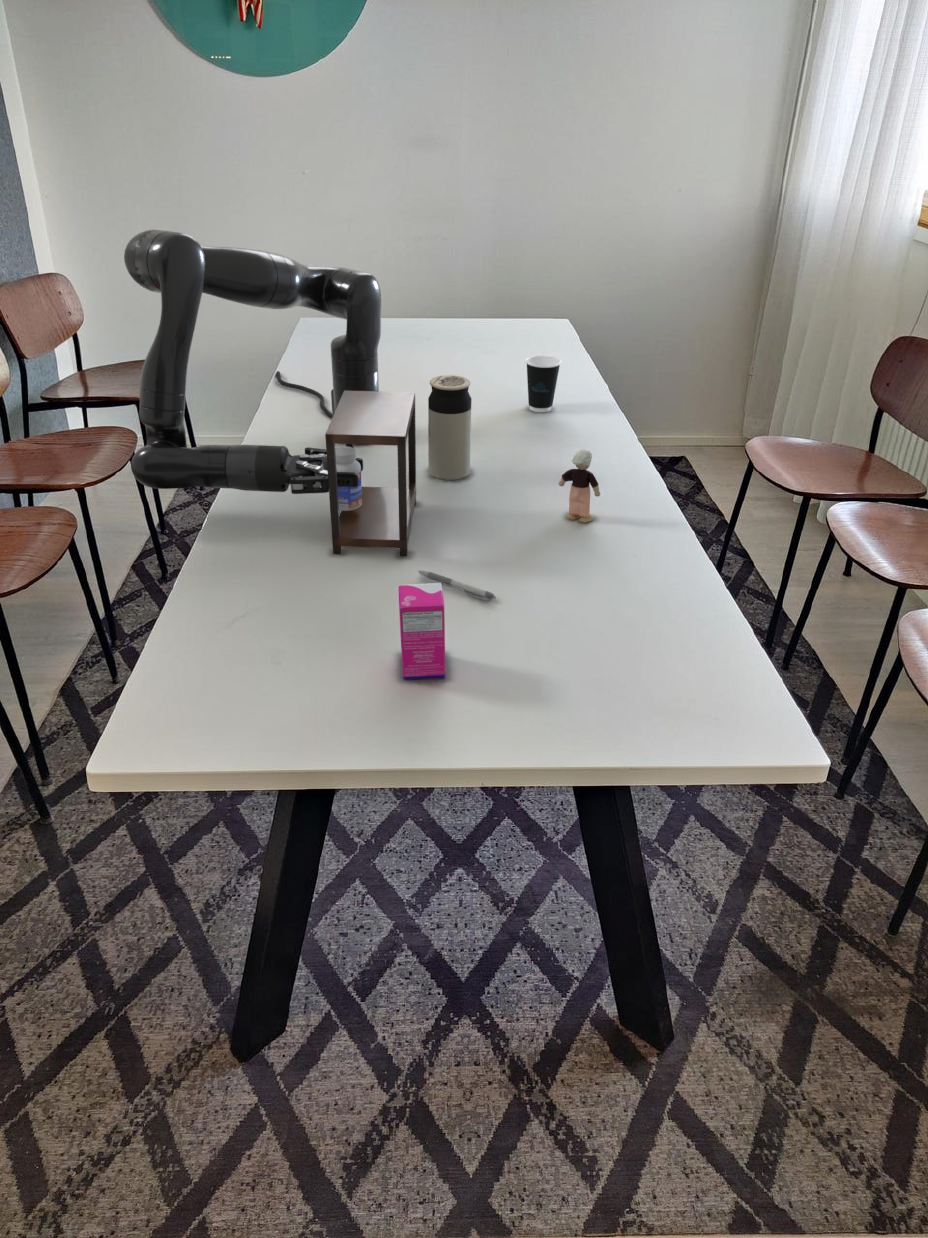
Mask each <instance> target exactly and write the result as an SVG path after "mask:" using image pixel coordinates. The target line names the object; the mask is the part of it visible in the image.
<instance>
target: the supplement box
mask: <svg viewBox="0 0 928 1238" xmlns="http://www.w3.org/2000/svg"><path fill="white" fill-rule="evenodd" d="M442 585H443V583H441V582H431V583H409V584H407V583H406V584H398V611H399V612H398V613H399V615H398V616H399V633H400V634H399V635H400V651H401V665H402V679H403V680H404V681H405V680H427V679H428V680H429V679H430V680H433V679H446V676H447V675H446V674H447V673H446V671H447V670H446V629H445V626H446V624H445V623H446V620H445V599H444V592H443V586H442Z"/></svg>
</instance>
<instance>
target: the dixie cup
mask: <svg viewBox="0 0 928 1238" xmlns="http://www.w3.org/2000/svg"><path fill="white" fill-rule="evenodd" d="M524 362H525V364H526V378H527V379H526V380H527V397H528V398H527V399H528V401H527V402H528V405H529V410H530V411H532V412H534V413H548V412H550V411H552V406H553V405H554V399H555V393H556V389H557V382H558V376H559V372H560V366H561V365H562V360H561V359H559V358H558V357H555V356H550V355H533V356H529V357H527V358H526V359H525V361H524Z"/></svg>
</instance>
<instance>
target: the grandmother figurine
mask: <svg viewBox="0 0 928 1238" xmlns="http://www.w3.org/2000/svg"><path fill="white" fill-rule="evenodd" d="M592 459H593V454H592V452H591V450H589V449H586V448H582V449H580V450H577V451H576V453H574V455H573V457H572V460H571V462H572V464H573V465H575V467H576V468H570V469H568V470H566V471H565V472H564V473H563V474H562V475H561V478H560V480H559V481H558V486H560V487H564V486H565V483H566V482H571V485H570V490H569V496H568V515H567V520H570V521H575V520H578V521H579V522H580V523H583V524H584V523H585V524H586V523H589V522H591V521H593V520H594V517H593V515H592V514H591V510H590V509H591V488H592V491H593V492H594V493H593V495H594V496H595V497H598V498H599V497H600V496H601V491H600V487H599V482H598V481H597V478H596V476H595V475H594V473H593V472H591V471H589V470H588V469H589V467H590V466H591V463H592ZM590 486H591V487H590Z"/></svg>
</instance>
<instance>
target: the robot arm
mask: <svg viewBox="0 0 928 1238" xmlns="http://www.w3.org/2000/svg"><path fill="white" fill-rule="evenodd" d="M123 253H124V255H123V260H124V266H125V268H126V271H127V272H128V274H129V275H130V277H131V278H132V280H133V281H134V282H136V283H137V284H138V285H139V286H140V287H142V288H143V289H145V290H148V291H150V292H153V293H158V294H160V299H161V300H160V301H161V310H160V319H159V324H158V328H157V331H156V334H155V337H154V339H153V341H152V344H151V346H150V348H149V350H148V352H147V355H146V356H145V359H144V361H143V365H142V369H141V374H140V381H139V402H138V403H139V407H138V412H139V419H140V422H141V423H142V424H143V425H144V426H145V432H146V433H145V434H146V435H145V436H146V445H144V446H143V447H142V446H141V448H139V449H137V451H136V452H135V453H134V454H133V456H132V459H131V462H130V469H131V472H132V475H133V476H134V478H135V480H137V482H139V484H141V485H143V486H145V487H147V488H150V489H157V490H171V489H172V490H173V489H187V488H197V487H198V488H201V487H202V488H203V487H204V488H211V489H233V490H239V491H245V492H246V491H247V492H268V493H273V492H274V493H285V492H286V491H288V490H289V487H290V493H291V494H292V495H308V494H327V493H329V483H328V468H327V453H326V448H319V447H318V448H317V447H309V446H307V447H305V448H304V453H301V454H297V455H296V454H295V455H292V454H290V451H289V449H288V447H286V446H285V445H266V444H265V445H263V444H238V445H226V444H225V445H221V444H220V445H219V444H204V445H203V444H202V445H199V446H195V447H188V443H187V434H186V428H185V414H186V413H185V411H186V394H187V393H186V392H187V377H188V366H189V359H190V354H191V348H192V343H193V338H194V334H195V331H196V330H195V329H196V324H197V320H198V314H199V310H200V305H201V302H202V301H201V300H202V296H203V294H205V295H210V296H212V297H216V298H218V299H222V300H225V301H230V302H233V303H237V304H242V305H246V306H250V307H255V308H256V307H257V308H263V309H270V310H288V309H293V308H296V307H297V308H299V307H301V308H307V309H311V310H314V311H317V312H320V313H323V314H326V315H329V316H331V317H335V318H337V319H341V320H346V330H345V334H341V335H338V336H337V337H334V338H333V339H332V340H331V342H330V359H331V362H330V363H331V376H332V377H331V378H332V389H331V390H330V398H331V412H330V410H328V408H327V406H326V405H325V397H324V395H322V394H321V393H320V392H319V391H317V390H315V389H312V388H310V387H307V386H304V385H302V384H295V383H292V382H291V383H290V382H287V381H284V380H283V379H282V377H281V372H280V371H278V370H277V371H276V372H275V375H274V376H275V377H276V380H277V382H278V384H280V385H281V386H283V387H285V388H291V389H295V390H300V391H303V392H306V393H309V394H311V395H314V396H315V397H317V398H318V399H319V407H320V409H321V410H322V412H323V413H324V414H325V415H326V416H327V417H328V418H329V419H332V418H333V415H334V413H335V411H336V408H337V406H338V404H339V401H340V399H341V397H342V394H343V392H344V390H345V391H378V392H380V386H379V385H380V384H379V382H380V381H379V357H378V356H379V355H378V354H379V353H378V349H379V348H378V347H379V345H380V340H381V334H382V291H381V286H380V284H379V282H378V280H377V278H376V276H375V275H373V274H371V273H369V272H365V271H360V270H356V269H350V268H346V267H327V266H325V267H323V266H310V265H305V264H302V263H300V262H299V261H297V260H294V259H293V258H290V257H288V256H285V255H283V254H278V253H274V252H270V251H265V250H259V249H251V248H243V247H227V246H208V245H201V244H200V243H199V242H198V240H196V238H195V237H193V236H191V235H189V234H187V233H185V232H184V233H183V232H179V231H171V230H169V231H168V230H161V229H148V230H144V231H142V232H138V233H137V234H136V235H134V236H133V237H131V239H130V240H129V241H128V242H127V244H126V246H125V249H124V252H123ZM356 445H357V446H358V445H359V446H360V444H354V446H356ZM355 460H356V461H358V462H359V463H360V466H361V472H363V470H364V460H363V458H361V457H356V459H355ZM337 485H338V486H346V487H356V486H358V474H357V473H352V472H337Z"/></svg>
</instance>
